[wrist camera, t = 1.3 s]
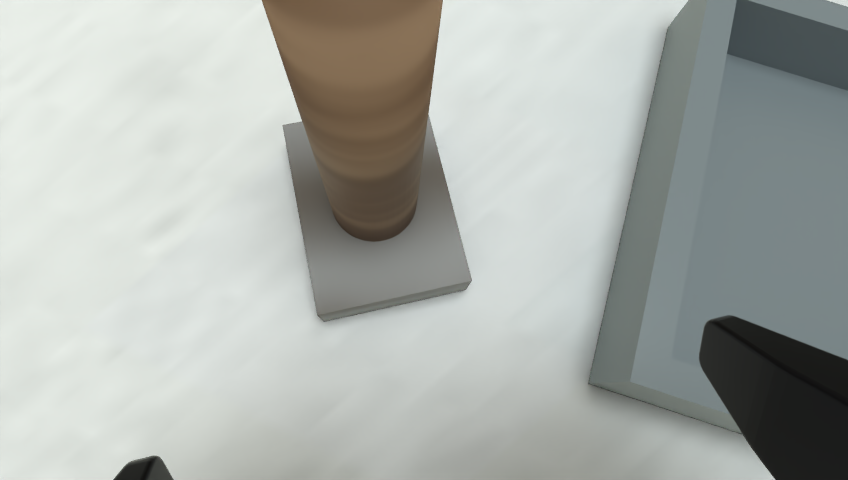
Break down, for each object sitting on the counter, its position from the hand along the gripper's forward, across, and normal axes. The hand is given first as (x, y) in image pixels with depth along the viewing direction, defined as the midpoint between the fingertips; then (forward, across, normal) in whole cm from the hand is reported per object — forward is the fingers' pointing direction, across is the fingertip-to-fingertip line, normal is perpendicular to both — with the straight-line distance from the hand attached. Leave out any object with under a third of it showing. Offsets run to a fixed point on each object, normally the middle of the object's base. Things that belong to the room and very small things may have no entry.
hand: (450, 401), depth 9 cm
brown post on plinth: (+15, 0, +4) cm, 15 cm away
